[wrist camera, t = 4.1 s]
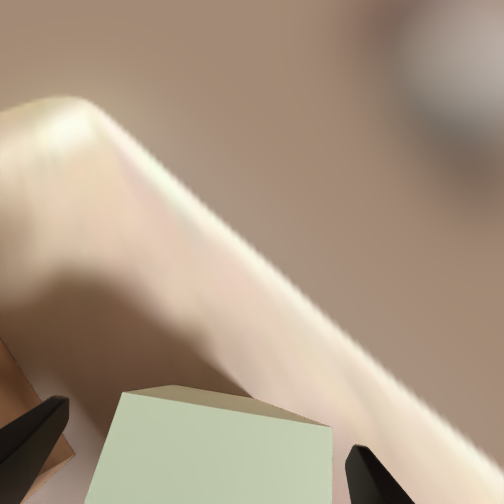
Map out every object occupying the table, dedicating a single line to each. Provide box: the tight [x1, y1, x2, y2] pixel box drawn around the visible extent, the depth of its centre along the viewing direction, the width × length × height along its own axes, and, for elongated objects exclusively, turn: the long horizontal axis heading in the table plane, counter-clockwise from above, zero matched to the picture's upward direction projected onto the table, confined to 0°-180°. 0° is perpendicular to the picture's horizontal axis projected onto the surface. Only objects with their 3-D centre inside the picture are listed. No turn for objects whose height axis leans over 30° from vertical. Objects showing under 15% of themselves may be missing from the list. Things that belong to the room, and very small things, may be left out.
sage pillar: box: [84, 385, 332, 504], centre depth 9 cm, size 4×4×10 cm
